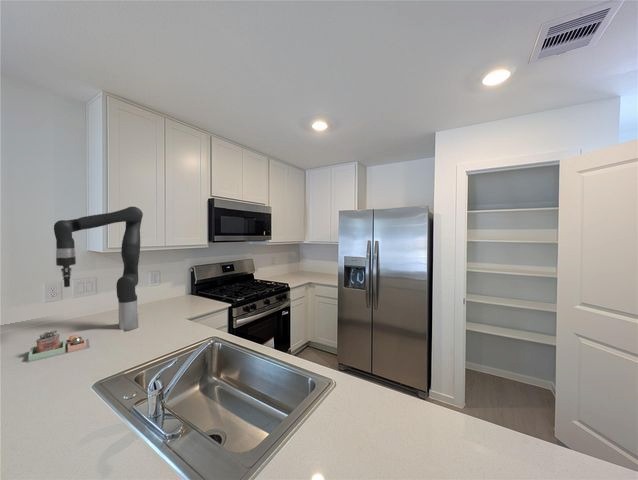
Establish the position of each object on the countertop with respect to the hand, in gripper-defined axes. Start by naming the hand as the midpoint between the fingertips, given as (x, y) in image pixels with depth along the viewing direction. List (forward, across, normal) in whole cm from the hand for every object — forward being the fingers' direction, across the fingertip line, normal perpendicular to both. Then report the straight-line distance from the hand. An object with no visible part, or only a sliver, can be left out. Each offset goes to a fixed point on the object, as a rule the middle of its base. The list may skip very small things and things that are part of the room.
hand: (66, 285), depth 138 cm
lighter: (+29, +19, -7) cm, 35 cm away
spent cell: (+28, +22, +3) cm, 36 cm away
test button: (+29, +15, +2) cm, 32 cm away
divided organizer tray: (+30, +19, -3) cm, 36 cm away
